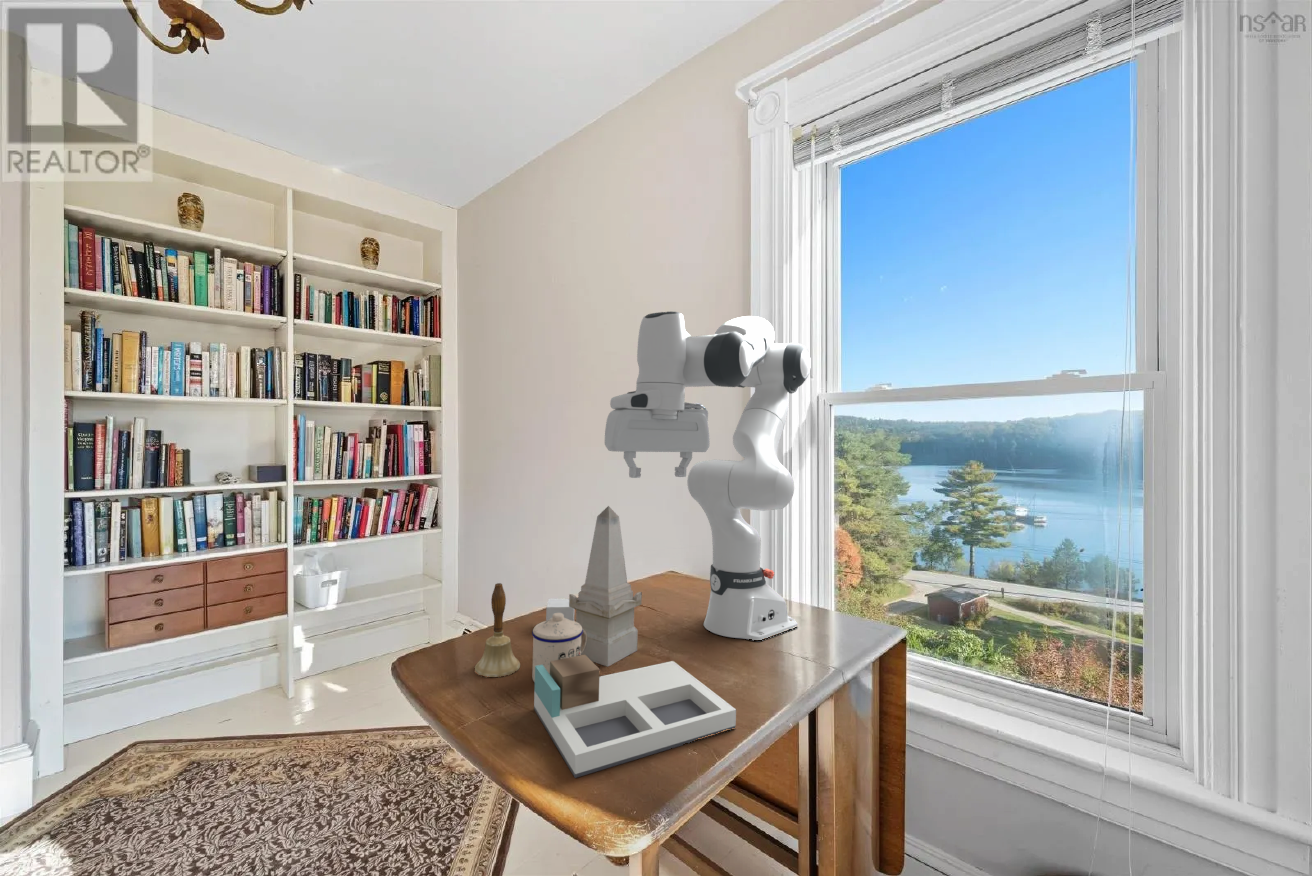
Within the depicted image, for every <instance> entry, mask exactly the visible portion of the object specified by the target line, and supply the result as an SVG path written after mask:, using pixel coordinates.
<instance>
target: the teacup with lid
mask: <svg viewBox="0 0 1312 876" xmlns="http://www.w3.org/2000/svg"><path fill="white" fill-rule="evenodd" d="M531 635H532V637H533V638H532V640H533V641H532V677H531V678H532V681H533V682H534V683H535V666H537V665H543V666H544V667H545V669H546V670H547V671H548V673H549V674H550V661H554V660H560V659H565V658H570V657H575V656H580V655H581V653H582V652H583V651H584V649H585V646H586V643H587V633H586V631H585V630H583V629H582V627H581V625H580V624H579V623H577V622H576V620H574V621H572V620H569V619H566V618H564V615H563V614H562V613H555V614H553V618H551V619H549V620H547V621H546V620H544V621H541V622H540V623H537V624H535V626H534V628H533V629H532V632H531Z"/></svg>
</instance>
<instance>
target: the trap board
mask: <svg viewBox="0 0 1312 876" xmlns="http://www.w3.org/2000/svg"><path fill="white" fill-rule="evenodd" d="M533 695H534V696H533V697H534V698H533V699H534V701H533V704H534V705H533V710H534V712H535V713H536V715H537V717H538V718H539V720H540V722H541V723H542V725H543V727H544V728H545V730H546V731H547V734H548V735H549V737H550V739H551V740H552V742H553V744H554V745H555V747H556V748H557V750H558V752H559V753H560V756H561V757H562V759H563V760H564V762H565V763H566V765H567V767H568V769H569V771H570V772H571V774H572V776H573V777H574V778H575V779H577V778H580V777H584V776H586V775H587V776H588V775H589V774H592V773H593V774H594V773H597V772H600V771H603V770H605V769H610V768H612V767H616V766H619V765H622V764H626V763H629V762H632V761H635V760H638V759H642V758H645V757H649V756H651V755H655V754H658V753H662V752H664V751H668V750H671V748H672V749H676V748H678V747H681V746H684V745H683V744H685V743H688V744H691V743H693V742H692V741H694V740H696V739H698V738H702V737H705V736H708V735H711V734H716V733H718V732H721V731H723V730H726V729H732V728H735V727H736V721H737V720H736V719H737V709H736V708H735V707H733V706H732V705H731V704H730V703H728V702H727V701H726V700H724V699H723V698H722V697H721V696H719V694H717V693H715V692H714V691H713V690H711V689H710V688H709V687H708V686H706V685H705V684H704V683H702V682H701V681H700V680H698V679H697V678H696V677H695V676H693V675H692V674H691V673H690V672H688V671H686V670H685V669H684V668H683V667H681V666H680V665H679V664H678V663H677V662H675V661H674V660H671V661H666V662H661V663H657V664H652V665H648V666H644V667H639V668H634V669H628V670H624V671H619V672H614V673H611V674H610V673H609V674H604V675H601V676H600V675H599V701H596V702H592V703H588V704H584V705H580V706H576V707H572V708H568V709H564V710H562V709H561V708H560V688H559V686H558V685H557V684H556V682H555V681H554V680H553V678H552V677H551V676H550V674H549V673H548V671H547V670H546V669H545V667H544V666H543V665H537V666H535V682H534V694H533ZM736 728H737V727H736ZM690 742H691V743H690ZM694 742H695V741H694ZM685 745H686V744H685Z"/></svg>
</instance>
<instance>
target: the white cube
mask: <svg viewBox="0 0 1312 876" xmlns="http://www.w3.org/2000/svg"><path fill="white" fill-rule="evenodd" d="M555 613H562V614H563V615H564V618H566V619H569V620H572V621H575V609H574V608H572V607H569V598H548V599H547V604H546V613H545V614H546V615H545V616H546V617H545V621H547V620H549V619H551V618H553V614H555Z"/></svg>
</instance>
